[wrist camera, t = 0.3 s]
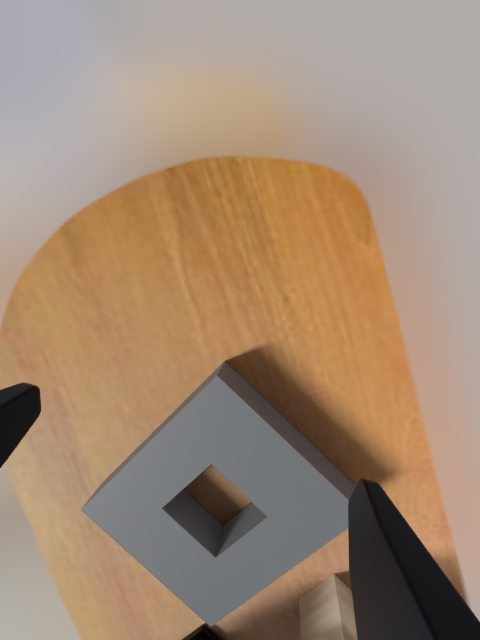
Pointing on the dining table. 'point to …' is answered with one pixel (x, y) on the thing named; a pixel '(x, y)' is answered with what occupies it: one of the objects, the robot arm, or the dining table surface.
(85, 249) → the dining table surface
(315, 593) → the square peg
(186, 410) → the socket block
